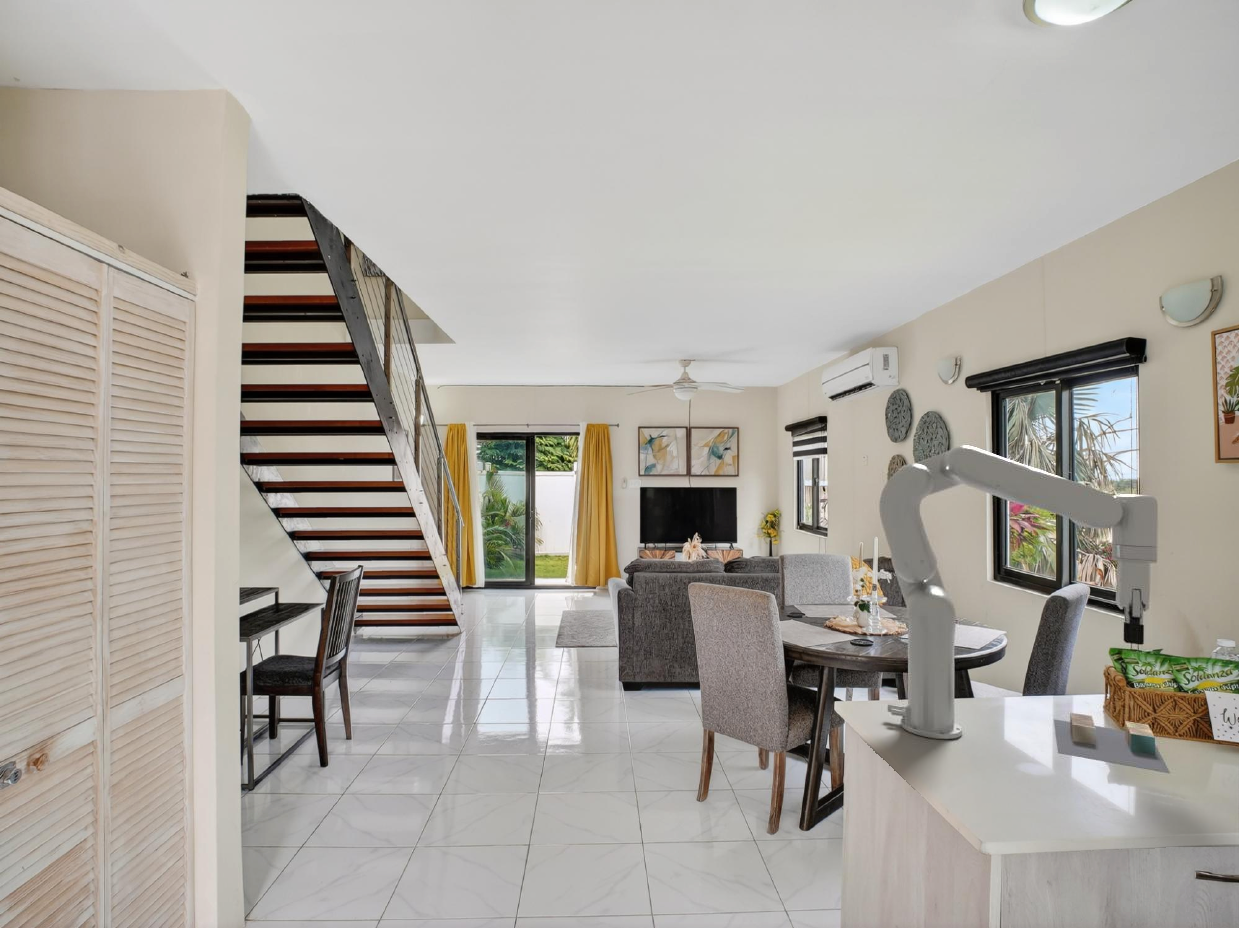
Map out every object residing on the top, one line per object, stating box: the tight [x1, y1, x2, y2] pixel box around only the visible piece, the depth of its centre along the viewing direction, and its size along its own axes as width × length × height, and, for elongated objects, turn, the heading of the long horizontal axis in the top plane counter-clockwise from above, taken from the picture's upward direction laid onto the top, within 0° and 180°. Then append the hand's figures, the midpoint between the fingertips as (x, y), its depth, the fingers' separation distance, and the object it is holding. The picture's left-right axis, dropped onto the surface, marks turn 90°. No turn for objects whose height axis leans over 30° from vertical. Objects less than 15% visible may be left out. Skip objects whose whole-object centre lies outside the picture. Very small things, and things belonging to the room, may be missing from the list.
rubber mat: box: [1053, 718, 1171, 774], centre depth 145 cm, size 18×24×1 cm
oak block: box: [1124, 720, 1156, 755], centre depth 144 cm, size 4×4×9 cm
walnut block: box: [1069, 712, 1096, 745], centre depth 149 cm, size 4×4×9 cm
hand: (1133, 642), depth 141 cm, fingers closed
